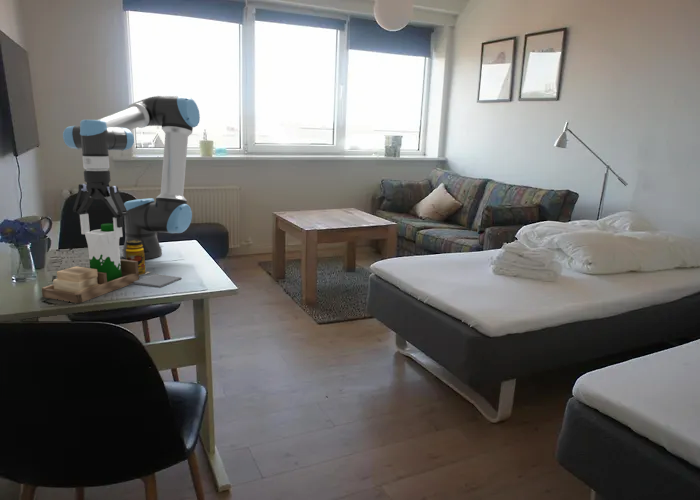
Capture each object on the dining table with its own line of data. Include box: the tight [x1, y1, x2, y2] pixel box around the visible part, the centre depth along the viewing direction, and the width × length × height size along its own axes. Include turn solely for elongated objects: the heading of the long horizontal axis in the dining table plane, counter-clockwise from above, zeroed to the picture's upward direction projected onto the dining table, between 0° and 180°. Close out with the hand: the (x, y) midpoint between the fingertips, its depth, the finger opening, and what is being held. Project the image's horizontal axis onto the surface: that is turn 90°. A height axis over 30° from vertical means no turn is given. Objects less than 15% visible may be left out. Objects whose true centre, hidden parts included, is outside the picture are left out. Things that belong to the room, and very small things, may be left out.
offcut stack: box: [52, 265, 100, 293], centre depth 159 cm, size 8×10×8 cm
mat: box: [133, 273, 182, 288], centre depth 175 cm, size 11×11×1 cm
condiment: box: [125, 240, 152, 277], centre depth 183 cm, size 7×8×12 cm
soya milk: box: [84, 222, 122, 282], centre depth 169 cm, size 9×9×20 cm
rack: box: [41, 258, 140, 304], centre depth 165 cm, size 25×14×7 cm, turn 161°
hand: (101, 235), depth 167 cm, fingers open, 13 cm apart
